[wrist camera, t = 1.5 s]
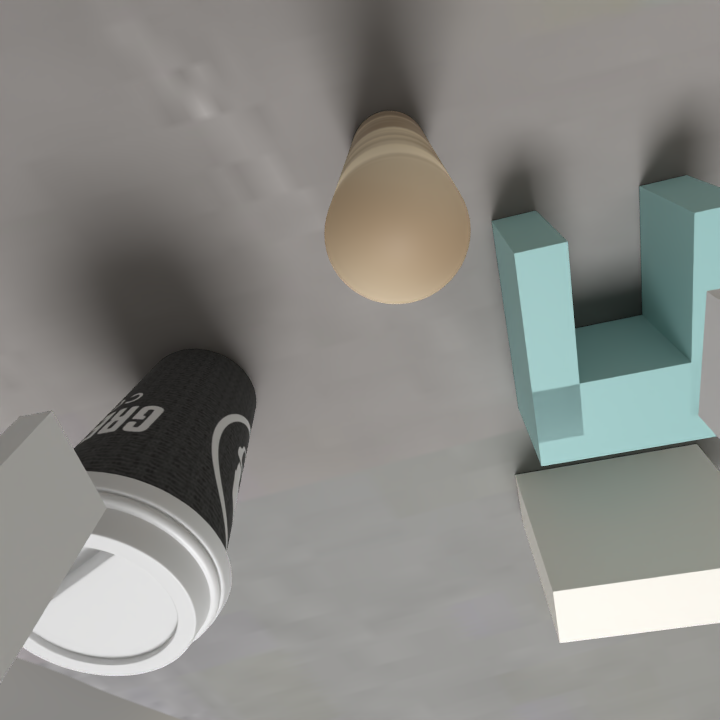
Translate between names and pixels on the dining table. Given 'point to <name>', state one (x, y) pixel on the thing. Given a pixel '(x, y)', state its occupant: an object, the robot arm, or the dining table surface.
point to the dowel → (395, 214)
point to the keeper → (612, 331)
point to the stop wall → (626, 542)
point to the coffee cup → (155, 521)
